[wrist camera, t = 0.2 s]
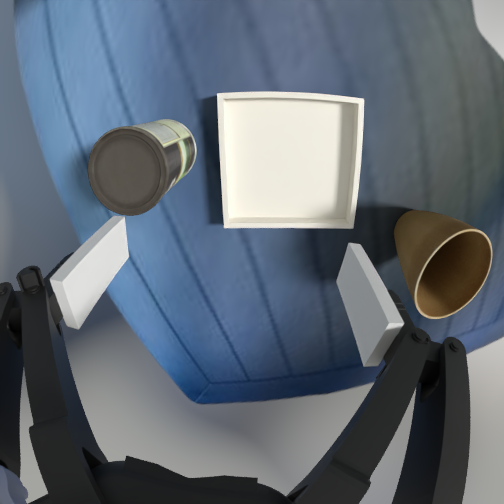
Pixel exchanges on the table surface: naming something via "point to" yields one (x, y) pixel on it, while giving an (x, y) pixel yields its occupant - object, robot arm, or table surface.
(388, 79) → the table surface
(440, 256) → the plant pot
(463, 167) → the table surface
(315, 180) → the tray
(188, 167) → the coffee can
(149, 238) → the table surface
